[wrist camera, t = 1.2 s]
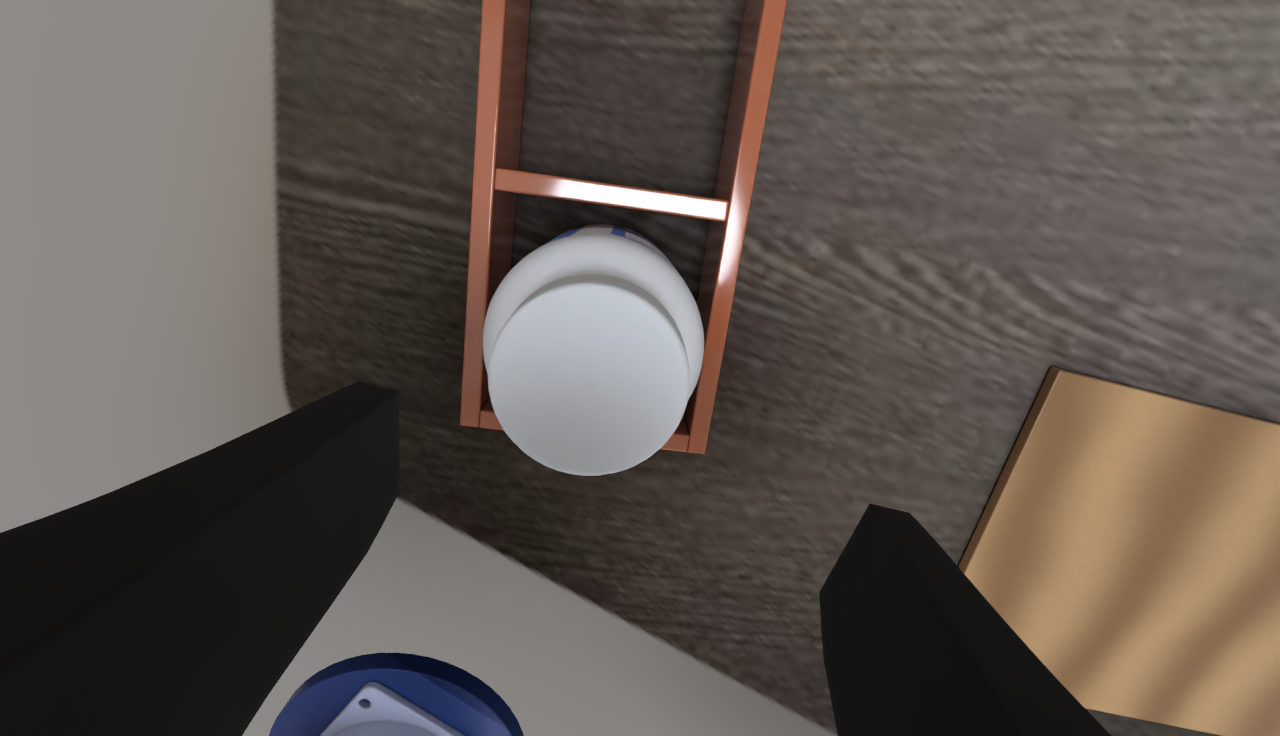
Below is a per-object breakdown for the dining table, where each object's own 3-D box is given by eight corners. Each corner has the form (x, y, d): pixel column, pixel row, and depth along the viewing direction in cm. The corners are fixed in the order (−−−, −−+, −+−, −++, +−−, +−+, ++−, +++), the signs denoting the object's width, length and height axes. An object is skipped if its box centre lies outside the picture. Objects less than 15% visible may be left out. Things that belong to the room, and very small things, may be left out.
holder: (694, 415, 22) (705, 455, 19) (485, 390, 22) (459, 425, 18) (772, -40, 18) (805, -95, 14) (516, -82, 17) (489, -149, 14)
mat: (911, 665, 25) (917, 675, 25) (1050, 366, 22) (1060, 369, 21) (1387, 761, 27) (1401, 772, 27) (1590, 502, 24) (1610, 508, 23)
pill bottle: (534, 376, 21) (459, 514, 12) (519, 226, 20) (420, 250, 11) (683, 369, 21) (723, 502, 12) (679, 219, 20) (722, 236, 11)
